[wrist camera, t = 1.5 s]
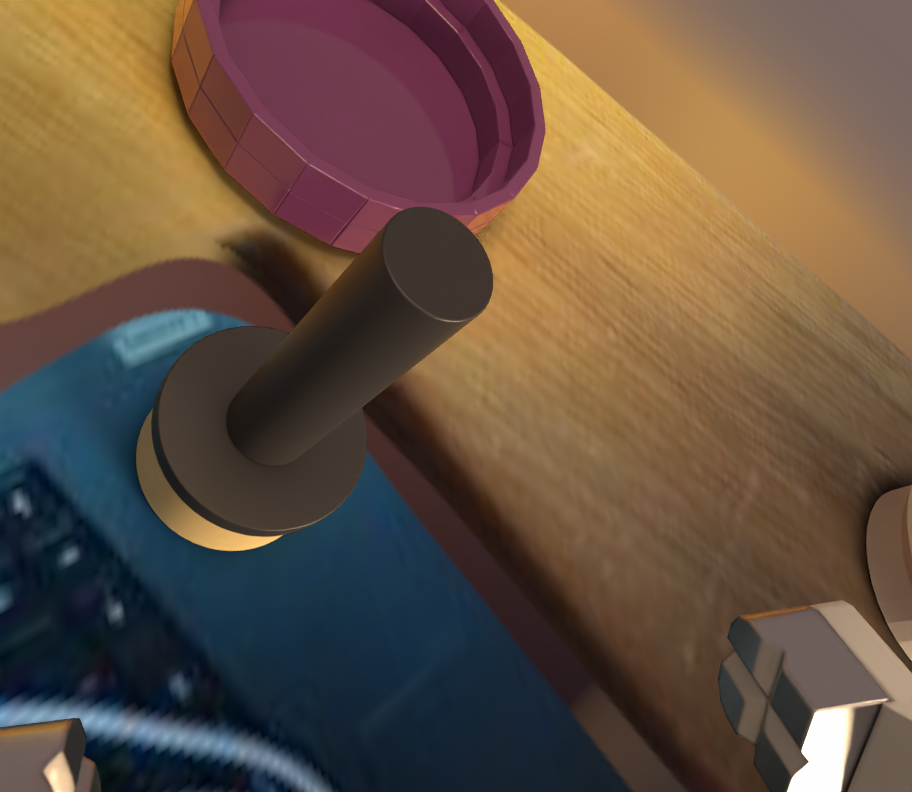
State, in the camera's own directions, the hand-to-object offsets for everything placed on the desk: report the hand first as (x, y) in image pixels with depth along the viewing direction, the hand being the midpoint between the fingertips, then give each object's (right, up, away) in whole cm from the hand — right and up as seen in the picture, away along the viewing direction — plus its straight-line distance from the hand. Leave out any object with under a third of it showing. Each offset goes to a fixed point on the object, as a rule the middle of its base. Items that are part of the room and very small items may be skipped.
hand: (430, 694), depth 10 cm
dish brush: (-7, +2, +17) cm, 18 cm away
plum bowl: (-4, +16, +25) cm, 30 cm away
